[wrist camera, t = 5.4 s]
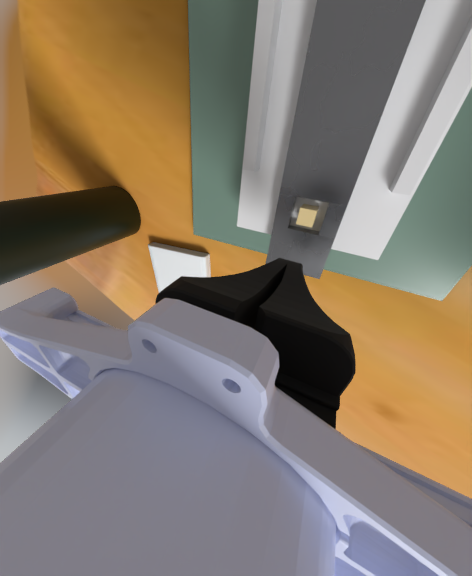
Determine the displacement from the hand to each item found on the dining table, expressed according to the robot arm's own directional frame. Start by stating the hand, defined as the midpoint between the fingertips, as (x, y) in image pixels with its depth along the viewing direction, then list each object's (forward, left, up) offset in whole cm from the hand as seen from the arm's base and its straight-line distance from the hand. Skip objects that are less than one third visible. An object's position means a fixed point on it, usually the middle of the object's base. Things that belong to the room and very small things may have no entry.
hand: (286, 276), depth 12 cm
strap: (0, -7, -4) cm, 8 cm away
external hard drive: (+13, +11, -9) cm, 20 cm away
